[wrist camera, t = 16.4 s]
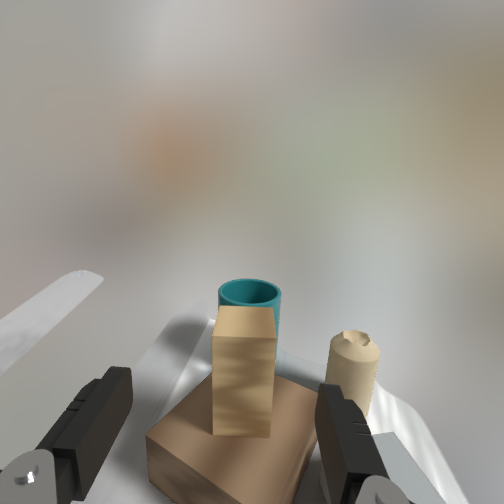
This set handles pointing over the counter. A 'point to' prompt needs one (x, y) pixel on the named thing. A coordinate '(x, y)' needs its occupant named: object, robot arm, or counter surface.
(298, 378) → the counter surface
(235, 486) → the walnut block
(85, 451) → the robot arm
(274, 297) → the cup
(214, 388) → the oak pillar
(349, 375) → the candle
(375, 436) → the grey block
